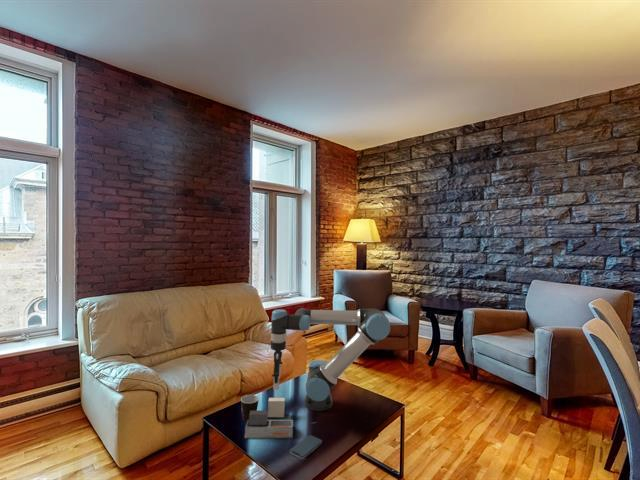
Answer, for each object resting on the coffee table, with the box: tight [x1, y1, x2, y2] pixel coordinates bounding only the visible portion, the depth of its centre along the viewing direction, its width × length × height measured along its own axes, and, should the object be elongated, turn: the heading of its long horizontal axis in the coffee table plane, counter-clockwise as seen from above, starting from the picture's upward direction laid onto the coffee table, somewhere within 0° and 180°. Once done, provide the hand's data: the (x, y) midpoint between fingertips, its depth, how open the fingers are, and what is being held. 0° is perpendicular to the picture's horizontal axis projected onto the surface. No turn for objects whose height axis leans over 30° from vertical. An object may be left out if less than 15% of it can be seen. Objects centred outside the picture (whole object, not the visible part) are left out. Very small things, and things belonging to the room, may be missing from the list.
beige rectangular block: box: [267, 397, 286, 418], centre depth 163 cm, size 8×4×8 cm, turn 93°
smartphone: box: [289, 434, 323, 460], centre depth 138 cm, size 8×2×15 cm
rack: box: [244, 410, 294, 439], centre depth 148 cm, size 21×9×9 cm, turn 93°
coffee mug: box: [240, 394, 260, 423], centre depth 160 cm, size 12×9×10 cm
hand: (277, 383), depth 163 cm, fingers open, 13 cm apart
